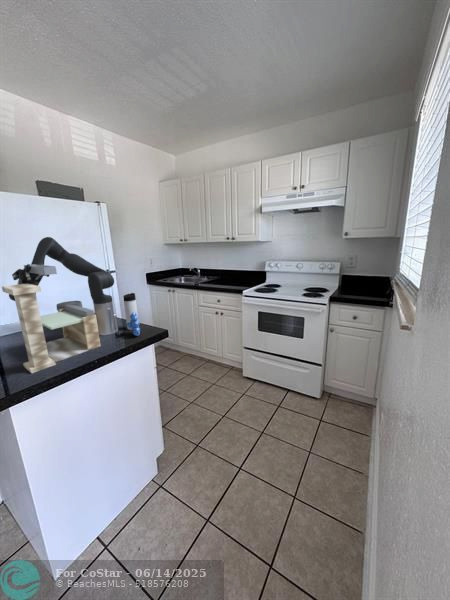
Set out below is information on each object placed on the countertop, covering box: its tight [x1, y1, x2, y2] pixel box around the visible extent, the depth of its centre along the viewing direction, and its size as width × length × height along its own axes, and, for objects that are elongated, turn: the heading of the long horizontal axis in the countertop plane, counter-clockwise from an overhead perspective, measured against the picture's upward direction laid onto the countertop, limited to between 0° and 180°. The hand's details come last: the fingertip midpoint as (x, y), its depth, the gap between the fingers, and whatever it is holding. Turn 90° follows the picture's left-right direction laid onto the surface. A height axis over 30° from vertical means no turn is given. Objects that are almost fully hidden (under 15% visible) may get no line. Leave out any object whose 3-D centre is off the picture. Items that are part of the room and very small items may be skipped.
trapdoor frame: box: [46, 308, 102, 363], centre depth 112 cm, size 18×27×16 cm
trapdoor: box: [40, 304, 95, 331], centre depth 111 cm, size 17×24×4 cm
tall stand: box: [1, 284, 57, 374], centre depth 94 cm, size 8×14×32 cm, turn 54°
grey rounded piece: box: [56, 300, 83, 312], centre depth 138 cm, size 13×13×15 cm
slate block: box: [23, 264, 58, 276], centre depth 101 cm, size 4×24×3 cm, turn 54°
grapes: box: [126, 312, 141, 337], centre depth 125 cm, size 12×7×12 cm, turn 30°
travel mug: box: [122, 292, 139, 331], centre depth 135 cm, size 6×7×20 cm
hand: (35, 265), depth 103 cm, fingers closed on slate block, 4 cm apart
